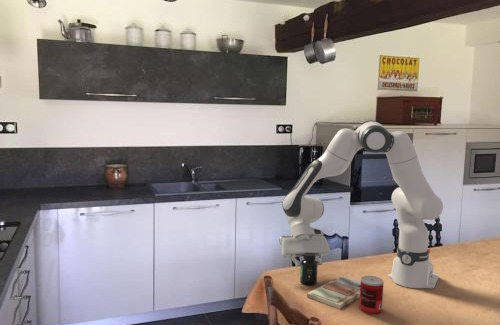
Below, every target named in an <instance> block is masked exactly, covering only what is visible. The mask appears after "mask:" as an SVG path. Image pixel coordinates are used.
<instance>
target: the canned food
mask: <svg viewBox="0 0 500 325" xmlns="http://www.w3.org/2000/svg"><path fill="white" fill-rule="evenodd" d="M360 282H361V286H360V297H359V309H360V311H361V312H363V313H365V314H367V315H379V314H381V312H382V309H383V295H384V294H383V293H384V280H383V279H382V278H381V277H378V276H375V275H364V276H361V278H360Z"/></svg>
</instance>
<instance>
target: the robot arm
mask: <svg viewBox="0 0 500 325" xmlns="http://www.w3.org/2000/svg"><path fill="white" fill-rule="evenodd" d="M361 149H364V150H365V151H366V152H369V153H372V154H374V153H375V154H378V153H385V155H386V158H387V163H388V166H389V168H390V171H391V175H392V179H393V180H394V182H395V183H396V184H397V186H398V187H396V188H395V189H394V190H393V191H392V194H391V197H390V198H391V202H392V204H393V206H394V208H395V212H396V216H397V217H396V218H397V221H398V229H399V230H398V231H399V235H398V246H397V249H396V256H395V257H394V258H393V262H392V269H391V272H390V273H388V274H387V275H388V277H389V278H390V279H391V280H392V281H393V282H394V283H395V284H397V285H399V286H401V287H404V288H405V287H406V288H410V289H435V287H436V285H437V283H438V280H439V278H440V277H439V275H438V274H437V273H435V272H434V264H433V262H431V260H430V259H429V258H430V257H429V256H430V255H429V254H430V253H431V248H428V245H429V244H428V243H429V229H428V228H427V227H426V224H425V221H424V220H426V221H433V220H437V219H438V218H439V217H440V216H441V214H442V212H443V209H444V204H443V201H442V200H441V198H440V197H439V196H438V195H437V194H436V193H435V192H434V190H433V188H432V187H431V186H430V184H429V182H428V180H427V179H426V177H425V175H424V173H423V171H422V168H421V164H420V162H419V158H418V155H417V151H416V148H415V146H414V143H413V141H412V140H411V138H410V136H409V134H408V133H406V132H405V131H403V130H397V131H396V130H395V131H392V132H390V131H388V129H386V127H385V126H384V125H383V124H381V123H380V122H379V121H376V120H370V119H369V120H366V121H363V122H362V123H361V124H359V125H358V126H356V127H355V128H353V129H352V128H340V129H339V130H338V131H337V132H336V134H335V135H334V137H333V138H332V139H331V141H330V142H329V144H328V146H327V147H326V149H325V151H324V152H323V154H322V155H320V157H318V159H315V160H313V161H312V162H311V163H310V164H309V165H308V166H307V168H306V170H305V171H304V172H303V173H302V175H301V177H300V178H299V179H298V180H297V182H296V183H295V185H294V186H292V187H293V188H292V189H291V190H290V191H289V192H288V193H287V194H286V195H284V196H285V197H284V198H283V199H282V202H281V203H282V204H281V206H282V210H283V212H284V214H285V215H286V217H287V222H288V225H289V228H290V229H289V232H290V235H282V236H280V237H279V244H280V246H281V247H280V248H281V249H280V250H281V256H282V257H283V258H291V261H292V262H293V263H294V264H295V268H297V267H299V268H300V267H301V261H300V260H298V259H297V258H301V257H302V258H303V257H304V253H314V254H316V257H318V260H316V261H317V263H318V266H322V265H323V261H322V259H323V257H324V256H328V255H329V253H330V252H331V248H330V244H329V242H328V240H327V238H326V237H325V236H324V234H325V233H324V231H323V230H322V229H318V228H314V227H311V224H312V223H315V222H316V221H318V220H320V219H321V218H322V216H323V215H324V212H325V207H324V206H325V205H324V203H323V200H322V199H320V198H317V197H315V196H314V197H313V196H310V195H309V196H307V195H306V194H308V192H309V190H310V189H311V188H312V187H313V185H314V184H315V182H317V181H318V180H320V179H323V178H329V177H337V176H340V175H343V173H345V171H347V170H348V168H349V167H350V164H351V163H352V161H353V159H354V157H355V155H357V154H356V153H357V152H358V151H360V150H361Z"/></svg>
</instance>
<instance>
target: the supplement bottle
mask: <svg viewBox="0 0 500 325" xmlns="http://www.w3.org/2000/svg"><path fill="white" fill-rule="evenodd" d="M316 258H317V256H316V254H314V253H304V257H302V260H301V261H300V272H299V277H300V278H299V280H300V281H299V282H300V283H301V285H303V286H308V287H312V286H315V285H316V286H317V284H318V273H319V272H318V271H319V270H318V268H319V265H318V263H317V261H318V260H316Z"/></svg>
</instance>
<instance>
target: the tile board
mask: <svg viewBox="0 0 500 325" xmlns="http://www.w3.org/2000/svg"><path fill="white" fill-rule="evenodd" d="M360 286H361V281H359V280H356V279H351V278H348V277H345V276H338V277H336V278H334V279H331V281H329V282H327V283H325V284H323V285H320V286H318V287H317V288H314V289H312V290H310V291H309V292H307V293H306V298H309V299H312V300H314V301H316V302H319V303H322V304H326V305H328V306H330V307H333V308H336V309H338V310H341V309H342V308H344V307H345V306H347V305H348V304H351V303H352V302H353V301H355V300H357V299H360Z"/></svg>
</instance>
